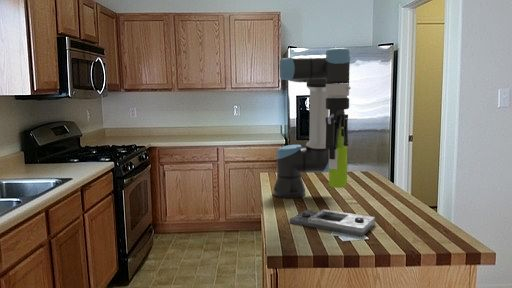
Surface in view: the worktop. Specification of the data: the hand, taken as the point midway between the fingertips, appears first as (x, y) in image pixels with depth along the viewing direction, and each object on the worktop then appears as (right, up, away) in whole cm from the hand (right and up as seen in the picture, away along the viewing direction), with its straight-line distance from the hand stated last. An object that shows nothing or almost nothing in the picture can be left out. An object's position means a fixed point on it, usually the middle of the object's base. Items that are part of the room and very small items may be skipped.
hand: (336, 166), depth 135 cm
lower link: (-2, -22, +18) cm, 28 cm away
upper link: (+4, -22, +13) cm, 26 cm away
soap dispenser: (0, -7, +1) cm, 7 cm away
